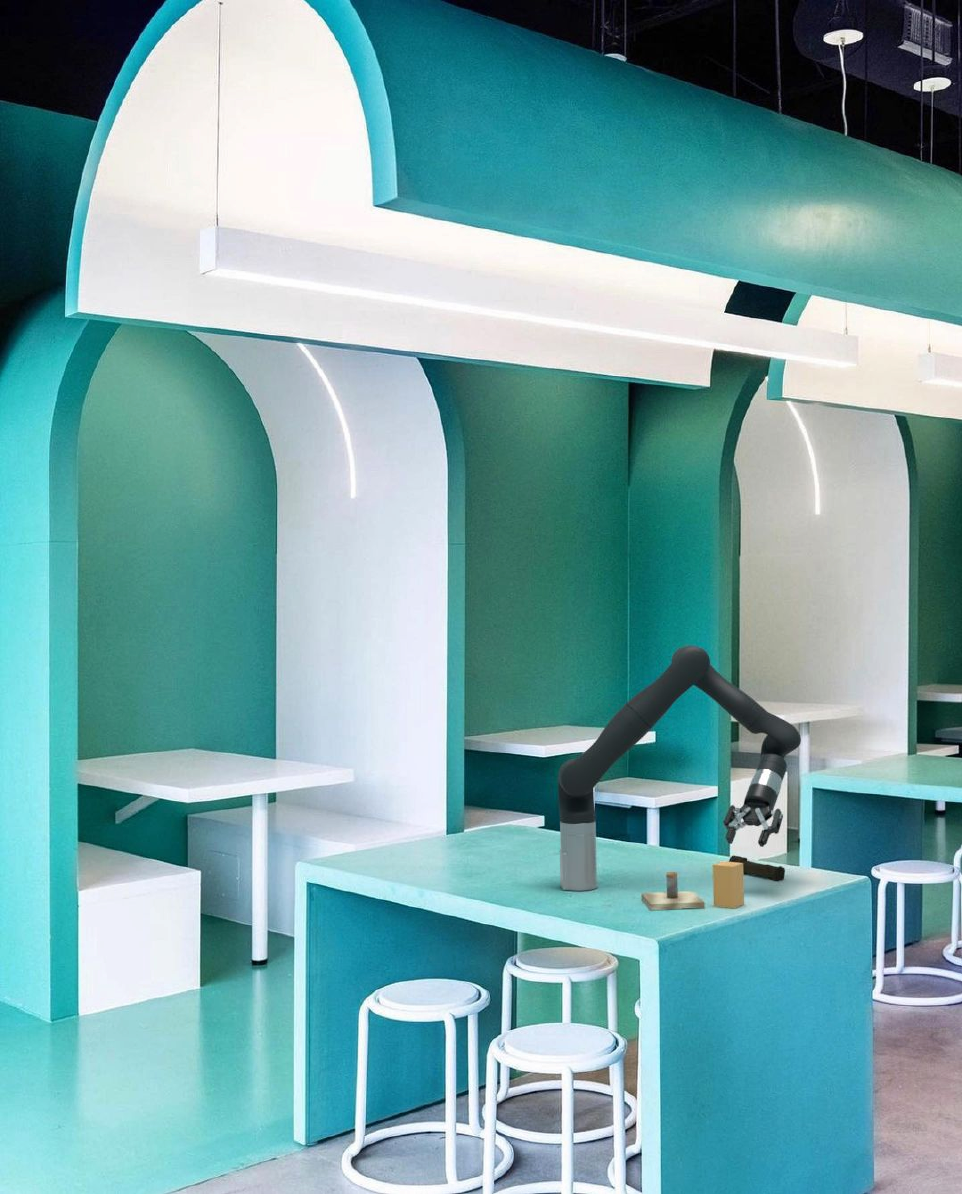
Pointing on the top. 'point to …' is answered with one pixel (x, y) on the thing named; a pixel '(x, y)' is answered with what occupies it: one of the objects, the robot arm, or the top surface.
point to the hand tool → (760, 868)
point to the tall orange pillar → (728, 884)
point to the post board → (672, 903)
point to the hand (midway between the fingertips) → (744, 843)
